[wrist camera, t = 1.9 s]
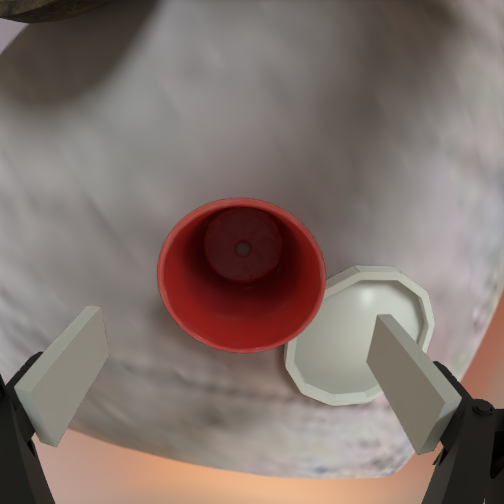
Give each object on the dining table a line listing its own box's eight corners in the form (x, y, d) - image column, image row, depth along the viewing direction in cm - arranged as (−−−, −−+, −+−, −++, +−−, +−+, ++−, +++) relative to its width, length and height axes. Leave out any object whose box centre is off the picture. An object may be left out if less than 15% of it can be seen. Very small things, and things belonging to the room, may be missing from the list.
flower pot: (242, 319, 31) (241, 380, 22) (160, 241, 29) (125, 278, 20) (324, 248, 30) (358, 288, 20) (243, 159, 27) (243, 159, 18)
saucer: (292, 263, 30) (295, 270, 28) (439, 267, 30) (448, 272, 29) (278, 398, 34) (280, 408, 33) (404, 388, 35) (409, 396, 33)
